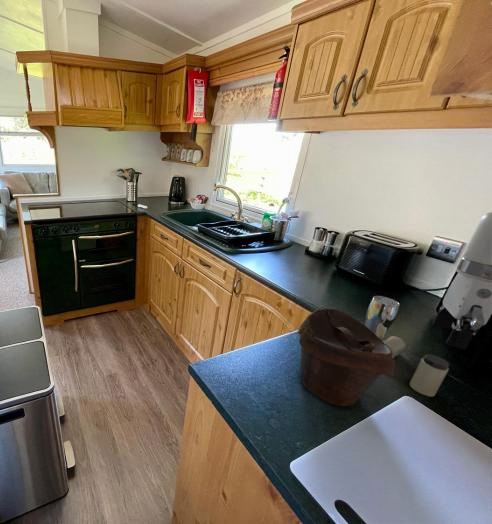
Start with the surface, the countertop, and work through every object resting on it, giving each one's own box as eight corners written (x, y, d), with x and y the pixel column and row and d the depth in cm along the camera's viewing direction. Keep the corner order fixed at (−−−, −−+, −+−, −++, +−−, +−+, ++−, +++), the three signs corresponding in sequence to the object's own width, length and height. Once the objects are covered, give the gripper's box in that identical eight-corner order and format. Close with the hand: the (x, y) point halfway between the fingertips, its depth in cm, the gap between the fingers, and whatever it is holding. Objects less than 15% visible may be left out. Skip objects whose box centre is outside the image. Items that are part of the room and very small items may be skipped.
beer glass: (361, 345, 91) (377, 303, 86) (354, 334, 97) (368, 294, 92) (387, 351, 89) (405, 308, 84) (378, 338, 95) (394, 298, 90)
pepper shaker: (431, 387, 75) (447, 358, 72) (438, 399, 71) (454, 369, 68) (407, 379, 77) (420, 350, 74) (411, 391, 73) (426, 361, 70)
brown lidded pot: (361, 435, 60) (393, 365, 54) (272, 376, 75) (289, 316, 69) (388, 398, 70) (417, 336, 64) (305, 353, 85) (322, 299, 79)
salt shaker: (396, 333, 88) (382, 341, 83) (410, 348, 85) (397, 357, 81) (381, 340, 91) (367, 348, 87) (394, 355, 89) (380, 364, 84)
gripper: (531, 288, 54) (486, 362, 60) (488, 263, 68) (455, 325, 74) (475, 277, 57) (438, 348, 63) (445, 256, 71) (417, 316, 77)
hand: (447, 336), depth 69 cm, fingers open, 9 cm apart
